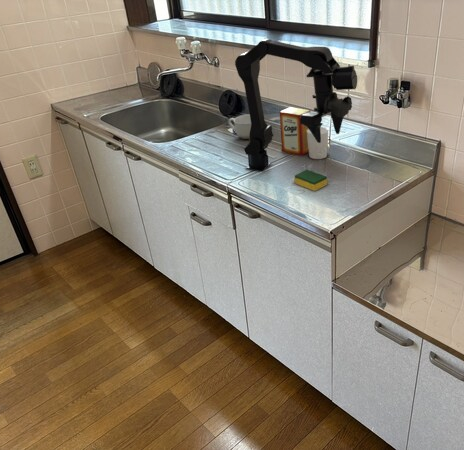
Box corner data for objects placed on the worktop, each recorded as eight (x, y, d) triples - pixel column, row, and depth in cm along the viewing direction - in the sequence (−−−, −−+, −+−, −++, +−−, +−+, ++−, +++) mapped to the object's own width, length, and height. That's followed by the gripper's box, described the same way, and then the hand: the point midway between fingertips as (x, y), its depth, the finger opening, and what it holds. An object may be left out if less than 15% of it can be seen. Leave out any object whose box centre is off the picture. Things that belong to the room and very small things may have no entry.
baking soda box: (282, 151, 183) (279, 110, 175) (292, 145, 188) (290, 106, 180) (301, 155, 178) (300, 114, 170) (311, 150, 182) (310, 109, 174)
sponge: (294, 183, 158) (294, 175, 156) (307, 177, 161) (307, 169, 160) (314, 191, 152) (314, 182, 150) (327, 184, 155) (326, 176, 154)
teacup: (266, 134, 200) (264, 116, 196) (251, 142, 193) (249, 123, 189) (240, 130, 207) (238, 112, 203) (224, 138, 200) (222, 119, 195)
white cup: (327, 160, 173) (326, 134, 168) (306, 159, 175) (305, 133, 169) (329, 152, 180) (329, 126, 174) (309, 151, 181) (308, 126, 176)
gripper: (323, 100, 137) (328, 151, 144) (362, 84, 147) (365, 132, 154) (296, 97, 144) (302, 146, 152) (335, 82, 155) (339, 128, 162)
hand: (328, 138), depth 155 cm, fingers open, 9 cm apart
